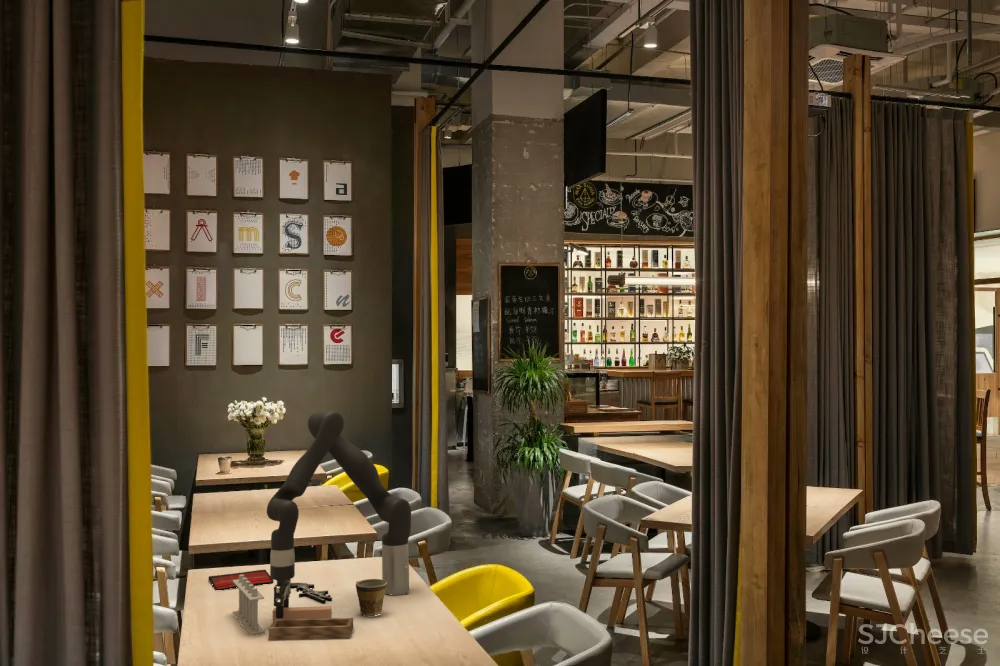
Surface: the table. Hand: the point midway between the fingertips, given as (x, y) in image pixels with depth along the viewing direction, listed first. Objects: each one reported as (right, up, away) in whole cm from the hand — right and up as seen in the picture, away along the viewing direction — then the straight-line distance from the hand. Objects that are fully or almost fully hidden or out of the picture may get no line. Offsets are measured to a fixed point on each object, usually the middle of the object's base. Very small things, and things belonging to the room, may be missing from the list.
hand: (282, 614), depth 279 cm
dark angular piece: (+2, -3, +31) cm, 31 cm away
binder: (-27, -4, +47) cm, 54 cm away
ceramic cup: (+26, -3, +9) cm, 28 cm away
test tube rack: (-11, -3, 0) cm, 11 cm away
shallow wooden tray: (+12, -3, -11) cm, 17 cm away
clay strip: (+6, -3, 0) cm, 7 cm away
